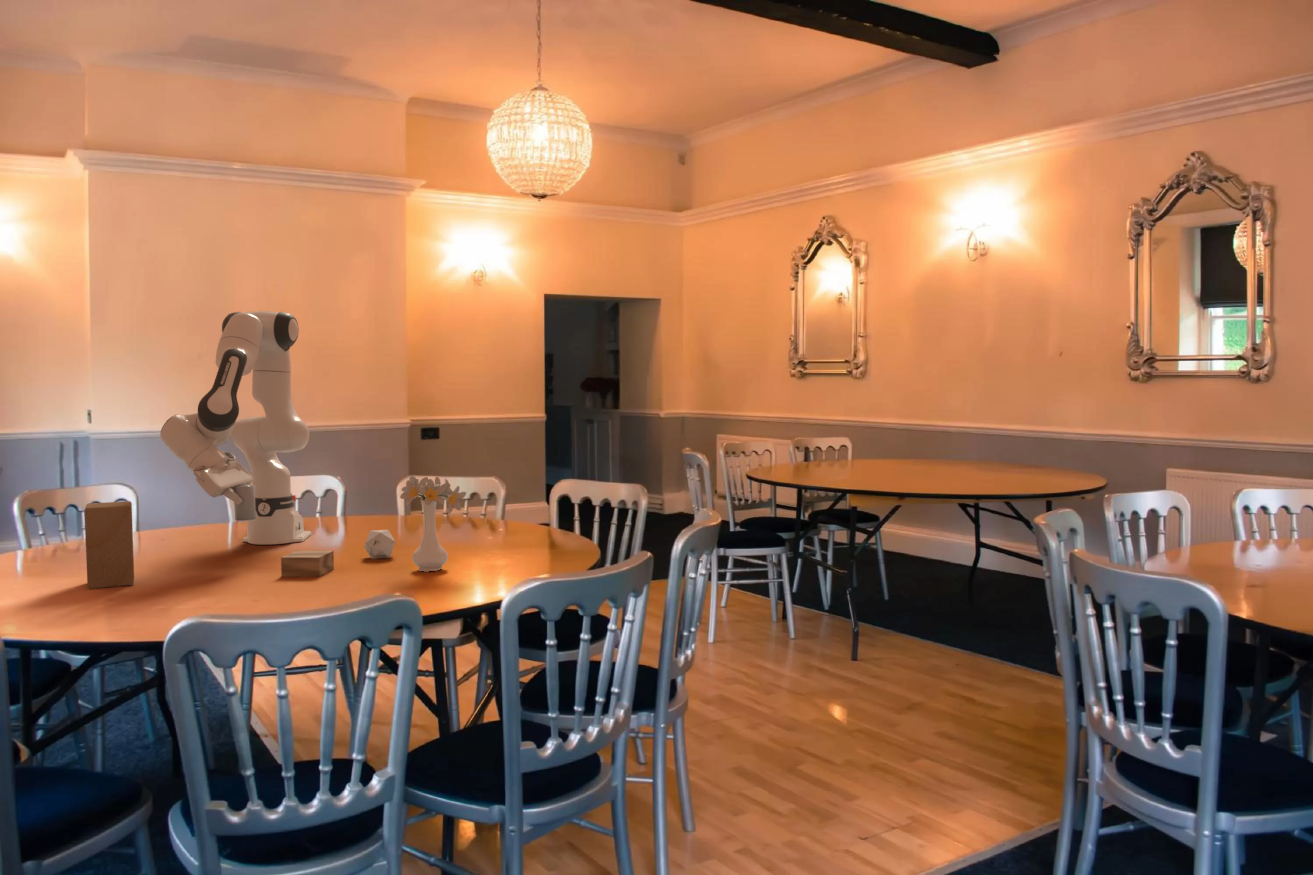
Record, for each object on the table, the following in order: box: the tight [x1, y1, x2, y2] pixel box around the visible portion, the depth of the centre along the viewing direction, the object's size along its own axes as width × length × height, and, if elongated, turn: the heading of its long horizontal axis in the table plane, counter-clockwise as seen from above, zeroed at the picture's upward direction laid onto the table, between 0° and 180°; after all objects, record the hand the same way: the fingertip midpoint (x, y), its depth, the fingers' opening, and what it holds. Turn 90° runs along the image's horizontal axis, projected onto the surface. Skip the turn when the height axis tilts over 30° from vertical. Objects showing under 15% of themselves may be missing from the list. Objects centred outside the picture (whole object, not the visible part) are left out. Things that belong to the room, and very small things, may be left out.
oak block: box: [280, 549, 335, 578], centre depth 259 cm, size 10×10×5 cm
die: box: [364, 529, 396, 560], centre depth 280 cm, size 8×9×10 cm
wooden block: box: [84, 500, 135, 590], centre depth 245 cm, size 10×10×20 cm
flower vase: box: [399, 475, 467, 573], centre depth 262 cm, size 13×18×25 cm
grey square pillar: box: [233, 484, 256, 522], centre depth 266 cm, size 5×5×9 cm
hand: (247, 500), depth 266 cm, fingers closed on grey square pillar, 5 cm apart
